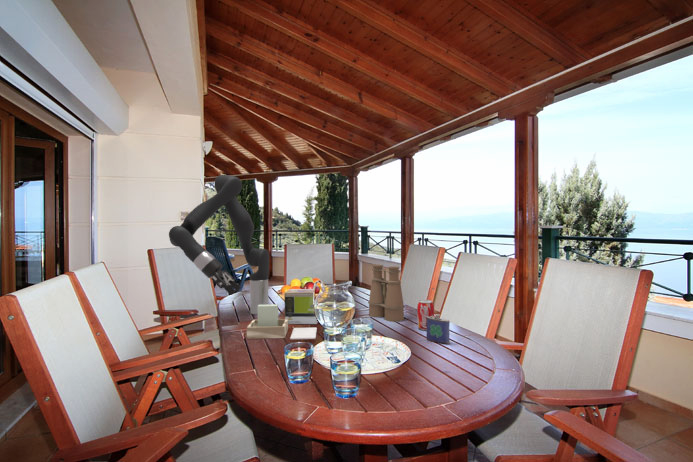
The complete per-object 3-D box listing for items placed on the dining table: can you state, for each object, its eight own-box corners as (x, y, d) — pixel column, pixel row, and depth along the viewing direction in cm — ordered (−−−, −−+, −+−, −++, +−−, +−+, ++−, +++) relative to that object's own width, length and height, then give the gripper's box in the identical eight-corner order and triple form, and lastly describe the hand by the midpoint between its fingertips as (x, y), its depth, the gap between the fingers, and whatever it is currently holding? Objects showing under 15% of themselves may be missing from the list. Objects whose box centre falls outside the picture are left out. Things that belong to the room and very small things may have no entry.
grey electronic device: (320, 319, 172) (320, 288, 171) (316, 325, 162) (316, 292, 161) (290, 318, 173) (289, 288, 173) (284, 324, 163) (284, 292, 163)
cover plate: (259, 333, 150) (258, 304, 150) (278, 332, 150) (278, 304, 150) (257, 335, 147) (257, 306, 147) (277, 334, 147) (277, 305, 147)
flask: (450, 343, 135) (450, 315, 135) (447, 345, 133) (447, 316, 132) (428, 338, 141) (428, 311, 140) (424, 340, 138) (424, 313, 138)
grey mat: (293, 329, 155) (293, 327, 155) (316, 328, 156) (316, 327, 156) (290, 339, 141) (290, 338, 141) (315, 338, 142) (315, 337, 142)
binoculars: (364, 314, 179) (363, 265, 178) (378, 311, 185) (377, 263, 185) (395, 323, 163) (394, 268, 162) (409, 319, 169) (408, 266, 169)
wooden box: (253, 330, 154) (253, 319, 154) (288, 329, 155) (288, 318, 155) (246, 338, 142) (246, 327, 142) (284, 337, 143) (284, 326, 143)
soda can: (416, 330, 152) (415, 302, 151) (419, 325, 158) (418, 298, 158) (432, 332, 149) (432, 303, 149) (435, 327, 156) (435, 300, 155)
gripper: (208, 259, 140) (238, 287, 141) (219, 256, 154) (246, 282, 155) (194, 273, 140) (224, 301, 141) (207, 268, 154) (234, 294, 155)
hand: (236, 291), depth 148 cm, fingers open, 8 cm apart
